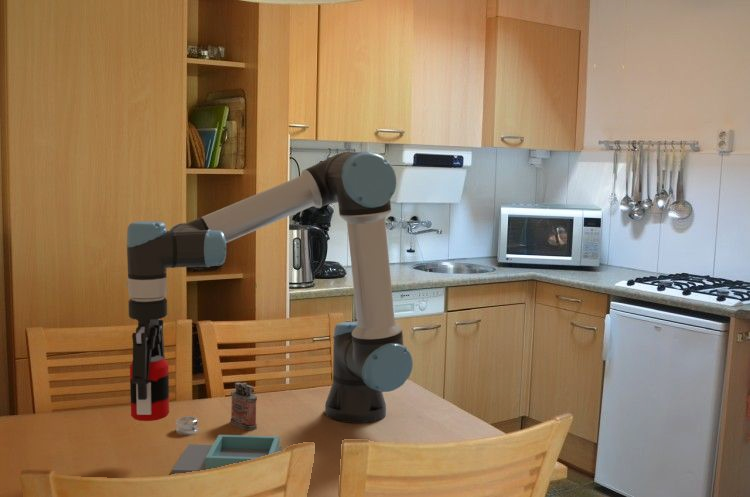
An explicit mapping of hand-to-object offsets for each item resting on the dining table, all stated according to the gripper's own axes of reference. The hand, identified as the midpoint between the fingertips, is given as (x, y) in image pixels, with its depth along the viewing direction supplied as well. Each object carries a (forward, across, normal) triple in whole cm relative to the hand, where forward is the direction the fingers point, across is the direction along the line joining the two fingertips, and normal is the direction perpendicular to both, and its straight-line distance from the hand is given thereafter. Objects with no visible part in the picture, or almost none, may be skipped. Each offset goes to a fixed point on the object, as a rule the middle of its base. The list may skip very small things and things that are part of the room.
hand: (150, 407), depth 162 cm
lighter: (+11, -22, +16) cm, 29 cm away
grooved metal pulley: (+11, -17, +4) cm, 21 cm away
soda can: (+2, 0, 0) cm, 2 cm away
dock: (+11, +1, +16) cm, 20 cm away
